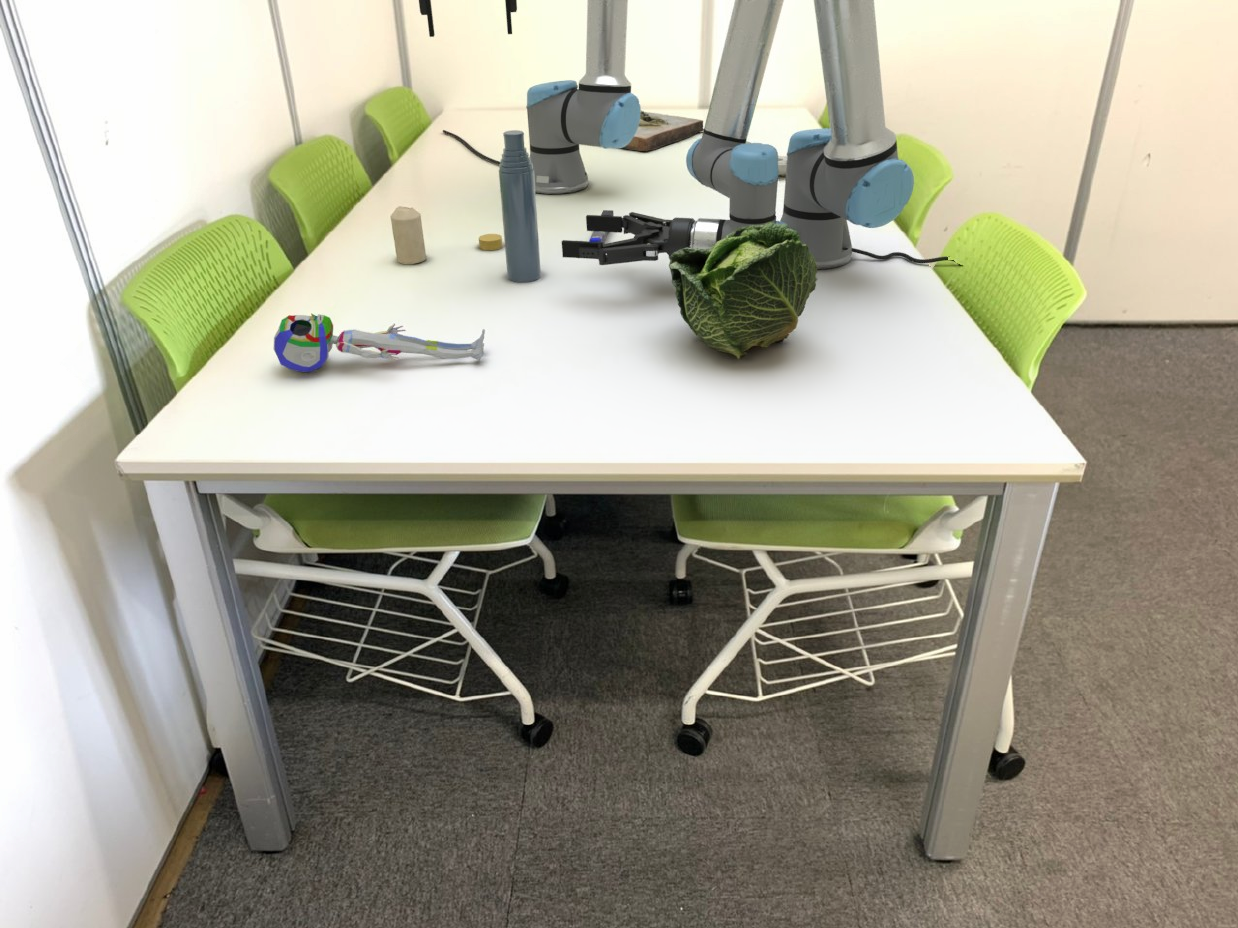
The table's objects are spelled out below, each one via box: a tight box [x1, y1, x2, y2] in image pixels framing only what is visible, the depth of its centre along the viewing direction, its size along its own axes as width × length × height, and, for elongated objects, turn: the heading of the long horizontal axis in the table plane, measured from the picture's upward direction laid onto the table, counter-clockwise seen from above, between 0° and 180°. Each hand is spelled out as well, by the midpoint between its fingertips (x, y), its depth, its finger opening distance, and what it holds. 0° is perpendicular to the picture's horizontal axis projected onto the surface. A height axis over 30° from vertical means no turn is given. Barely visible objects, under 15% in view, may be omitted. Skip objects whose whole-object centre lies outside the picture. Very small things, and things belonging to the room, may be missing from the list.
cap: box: [478, 233, 504, 251], centre depth 178 cm, size 5×5×2 cm
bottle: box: [498, 129, 542, 283], centre depth 157 cm, size 6×6×25 cm
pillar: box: [589, 209, 614, 244], centre depth 182 cm, size 2×2×20 cm
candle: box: [390, 205, 427, 265], centre depth 169 cm, size 6×6×10 cm
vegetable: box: [668, 222, 818, 360], centre depth 133 cm, size 20×19×20 cm
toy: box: [273, 313, 486, 373], centre depth 132 cm, size 10×8×30 cm
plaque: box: [622, 109, 704, 152], centre depth 257 cm, size 30×7×30 cm
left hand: (471, 35), depth 158 cm, fingers open, 13 cm apart
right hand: (575, 235), depth 157 cm, fingers open, 13 cm apart
